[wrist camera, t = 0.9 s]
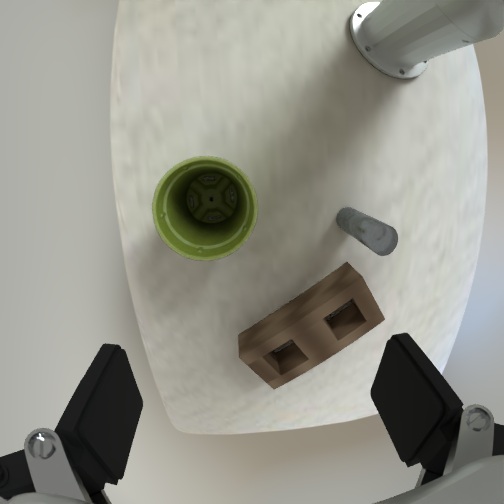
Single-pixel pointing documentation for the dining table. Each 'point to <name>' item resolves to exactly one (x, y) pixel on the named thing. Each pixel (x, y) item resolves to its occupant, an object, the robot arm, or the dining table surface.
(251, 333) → the socket block
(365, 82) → the dining table surface
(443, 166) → the dining table surface
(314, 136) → the dining table surface
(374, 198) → the dining table surface
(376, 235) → the pin
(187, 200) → the plant pot
